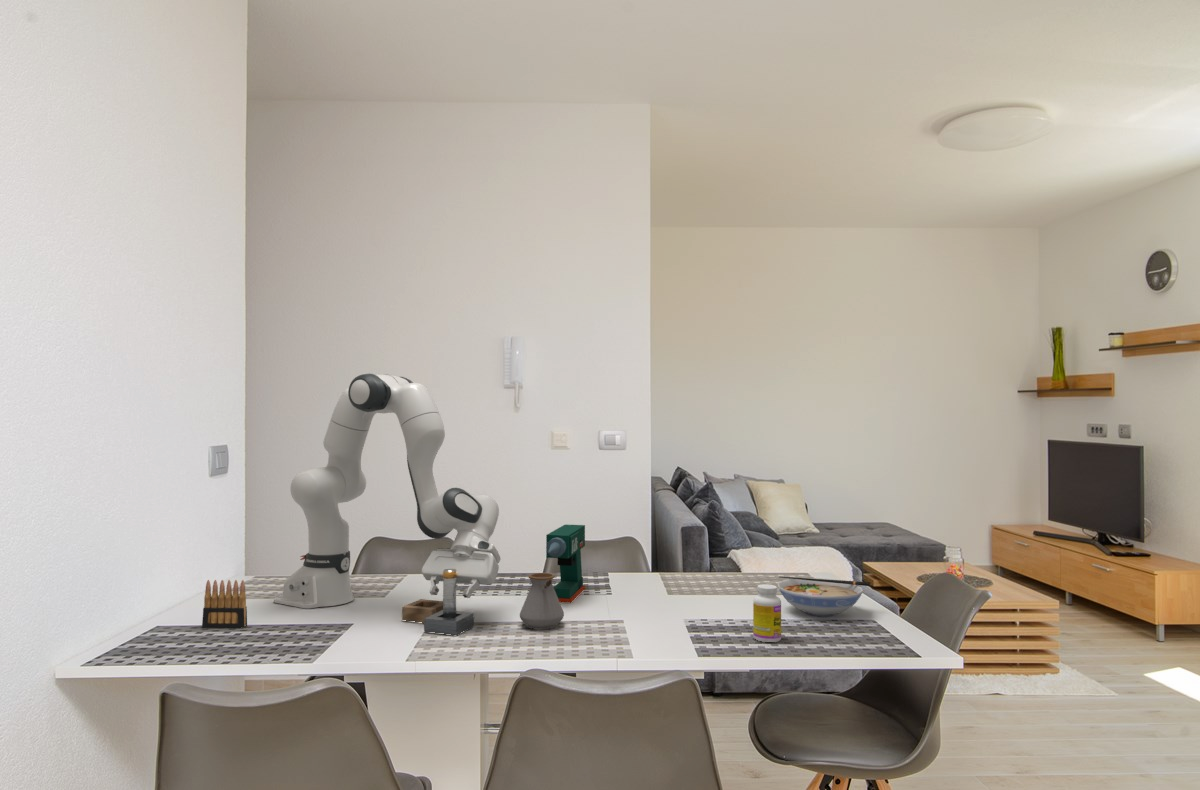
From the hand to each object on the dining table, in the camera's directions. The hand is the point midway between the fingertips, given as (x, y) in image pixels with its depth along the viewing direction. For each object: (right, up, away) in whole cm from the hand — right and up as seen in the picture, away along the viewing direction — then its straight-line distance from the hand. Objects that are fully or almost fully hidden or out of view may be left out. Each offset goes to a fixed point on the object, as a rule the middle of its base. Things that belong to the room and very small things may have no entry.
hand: (449, 595), depth 190 cm
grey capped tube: (0, -9, 0) cm, 9 cm away
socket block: (0, -9, 0) cm, 9 cm away
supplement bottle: (+79, -9, -7) cm, 80 cm away
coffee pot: (+24, -9, -1) cm, 26 cm away
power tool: (+27, -10, +31) cm, 43 cm away
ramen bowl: (+99, -10, +17) cm, 101 cm away
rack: (-8, -9, +10) cm, 16 cm away
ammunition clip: (-58, -9, +2) cm, 58 cm away
